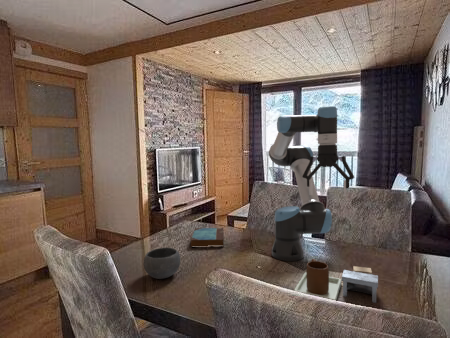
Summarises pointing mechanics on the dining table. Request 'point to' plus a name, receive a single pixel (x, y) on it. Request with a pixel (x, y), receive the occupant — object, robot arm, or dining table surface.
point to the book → (207, 237)
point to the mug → (317, 277)
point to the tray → (332, 294)
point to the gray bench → (360, 283)
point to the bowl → (162, 262)
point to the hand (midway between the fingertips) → (327, 195)
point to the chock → (362, 270)
